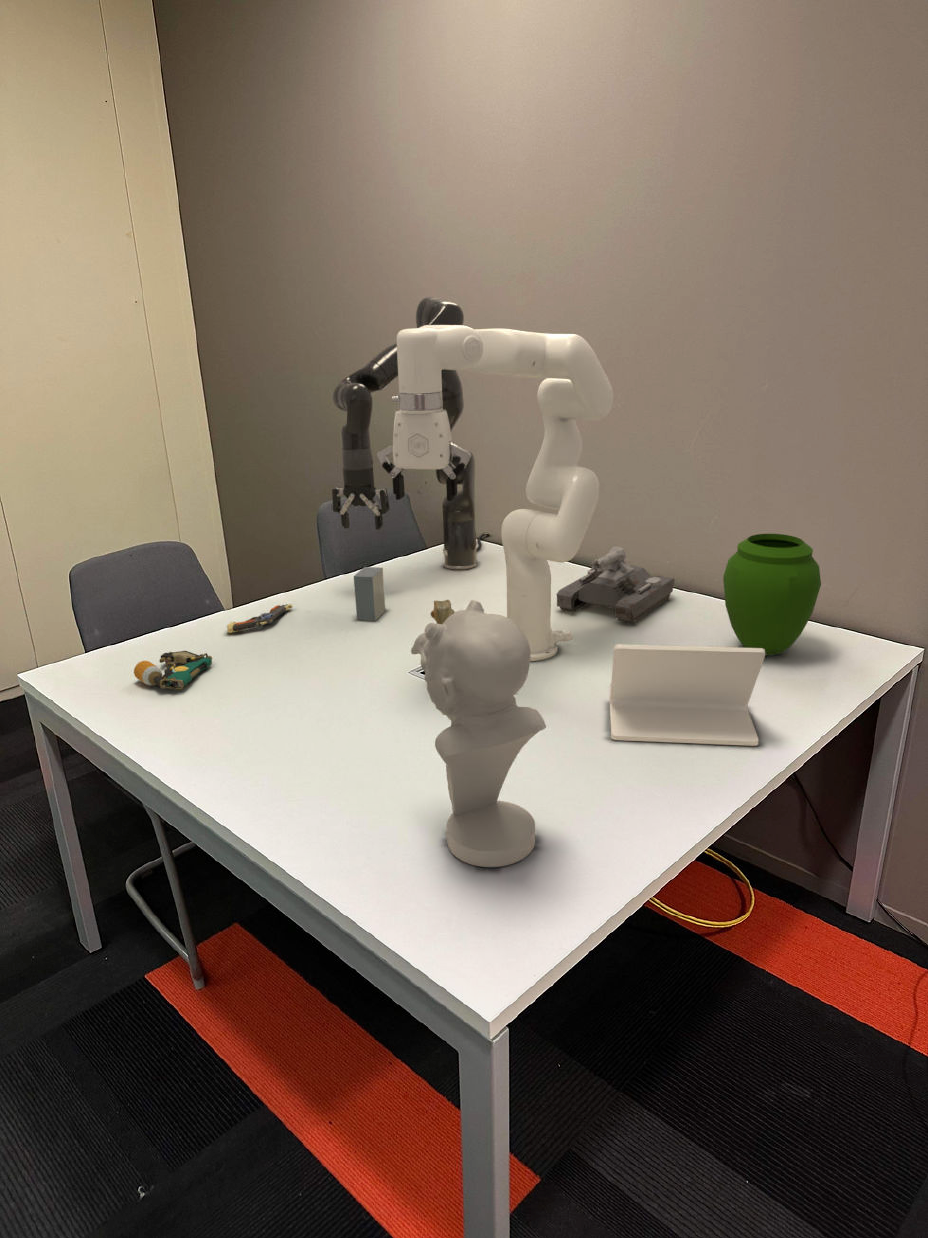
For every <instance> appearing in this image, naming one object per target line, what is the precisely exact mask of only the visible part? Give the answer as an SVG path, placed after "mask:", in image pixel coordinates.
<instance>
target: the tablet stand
mask: <svg viewBox="0 0 928 1238" xmlns="http://www.w3.org/2000/svg"><path fill="white" fill-rule="evenodd" d="M765 656H766V655H765V650H764V649H763V648H744V647H730V646H692V645H690V646H689V645H688V646H687V645H658V644H655V645H654V644H620V643H619V644H615V645H614V646H613V657H612V667H611V668H612V669H611V680H610V681H611V682H610V684H609V716H610V717H609V719H610V739H612V740H614V741H632V742H633V741H634V742H653V743H654V742H655V743H677V744H678V743H679V744H704V745H724V746H725V745H727V746H729V745H730V746H731V745H732V746H748V747H749V746H752V747H756V746H758V745H759V741H760V740H759V737H758V734H757V731H756V729H755V725H754V723H753V721H752V718H751V716H750V713H749V702H750V700H751V697H752V694H753V691H754V689H755V687H756V686H755V685H756V683H757V680H758V677H759V674H760V671H761V668H762V666H763V663H764V660H765Z"/></svg>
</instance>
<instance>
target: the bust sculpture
mask: <svg viewBox="0 0 928 1238" xmlns="http://www.w3.org/2000/svg"><path fill="white" fill-rule="evenodd" d="M454 612H455V613H453V614H452V615H451V616H450V617H448V618H447V619H446V620H445V622H444V623H443V624H436V623H435V622H430V623H428V624H427V625H426V626H425V628H424V632H423V633H421V634H419V635H418V636H417V637H416V638H415V640H414V642H413V645H412V647H411V649H410V654H412V655H420V667H421V669H422V670H423V672H424V681H425V682H426V690H427V693H428V696H429V698H430V701H431V702H432V704H434V706H435V708H436V710H438V711H439V712H440V713H441V714H442V716H446V717H447V718H448V719H449V720H450V726H448V727H446V728H445V729H443V730H442V731H441V732H440V733H439V734H438V735H436V738H435V741H434V748H435V749H436V752H437V753H438V755H439V757H440V758H441V760H442V761H443V762H444V763H445V771H446V781H447V790H448V796H449V800H450V803H451V810H452V813H451V814H450V815H449V817H448V819H447V822H446V844H447V847H448V849H449V851H450V852H451V854H452V855H453V856H454V857H456V858H457V859H459V860H460V861H462V862H463V863H466V864H469V865H471V866H476V867H483V868H498V867H505V866H509V865H512V864H517V862H520V861H521V860H523V859H525V858H527V856H528V855H530V854H531V852H532V851H533V849H535V848H534V847H535V845H536V822H535V821H536V820H535V819H534V817H533V816H532V814H531V813H530V812H529V811H528V810H526V809H525V808H524V807H522V806H520V805H517V804H515V803H513V802H509V801H504V800H499V796H500V793H501V790H502V788H503V785H504V783H505V780H506V778H507V776H508V773H509V771H510V769H511V768H512V765H513V763H514V761H515V760H516V759H517V756H518V755H519V753H520V752H521V750H522V749H523V748H524V747H525V745H526V744H527V743H528V742H529V741H530V740H531V739H532V738H533V737H535V735H537V734H538V733H539V732H541V731H544V730H545V729H546V728H547V725H546V723H545V720H544V718H543V717H542V714H541V713H540V712H539V711H538V710H537V709H535V708H533V707H530V706H518V705H517V701H516V699H517V698H516V696H515V695H516V694H517V693H519V691H521V689H522V688H523V686H524V684H525V683H526V680H527V678H528V675H529V669H530V666H531V661H530V656H531V655H530V653H531V652H530V646H529V643H528V640H527V638H526V636H525V634H524V633H523V632H522V630H521V629H520V628H519V627H518V626H517V625H516V624H515V623H514V622H513V621H512V620H511V619H509V618H507V616H504V615H503V614H502V615H501V614H496V613H485V609H484V607H483V605H482V603H481V602H480V601H478V600H473V599H472V600H470V601H469V603H468V605H467V607H466V609H460V610H457V611H454Z"/></svg>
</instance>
